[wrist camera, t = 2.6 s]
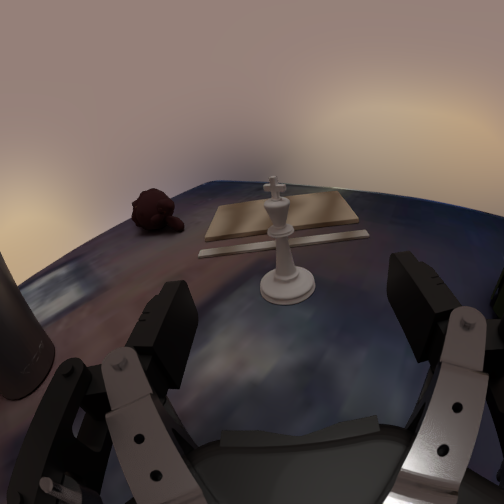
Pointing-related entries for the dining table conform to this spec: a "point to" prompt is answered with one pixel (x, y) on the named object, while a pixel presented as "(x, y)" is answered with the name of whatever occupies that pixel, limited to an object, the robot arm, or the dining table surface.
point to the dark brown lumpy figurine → (155, 211)
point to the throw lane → (299, 216)
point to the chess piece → (283, 255)
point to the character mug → (499, 297)
